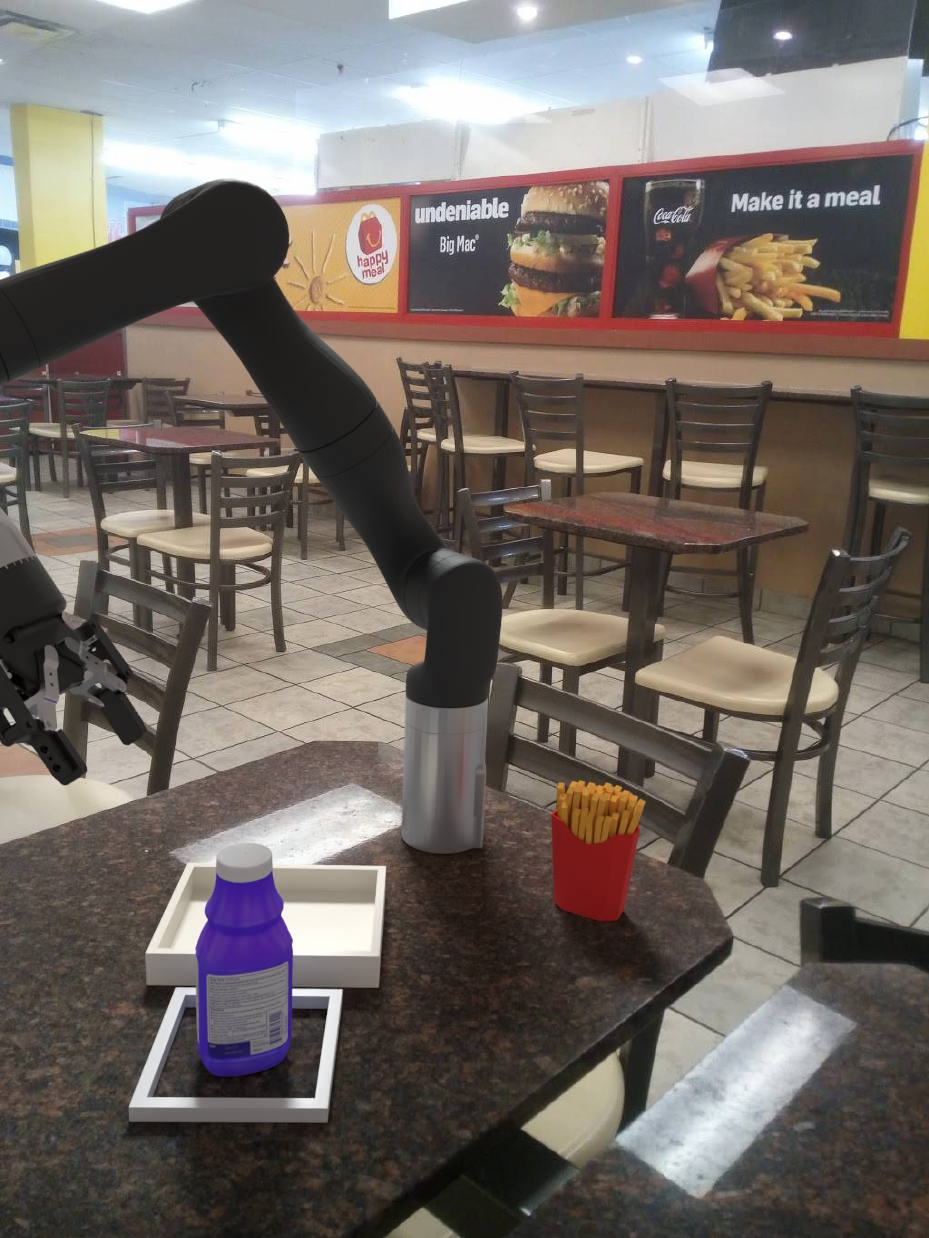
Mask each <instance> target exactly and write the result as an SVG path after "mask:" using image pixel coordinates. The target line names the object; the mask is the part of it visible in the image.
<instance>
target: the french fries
mask: <svg viewBox="0 0 929 1238" xmlns="http://www.w3.org/2000/svg"><path fill="white" fill-rule="evenodd" d="M557 783H558V784H557V785H556V802H557V803H556V805H557V807H556V809H555V810H554V811H553V812H552V813H551V814H550V816H551V817H550V819H551V841H552V842H551V844H552V845H551V846H552V850H551V851H552V875H553V876H552V877H553V903H555V904H556V906H557V907H559V908H560V909H561V910H563V911H566V912H568V913H572V914H575V915H578V916H582V917H585V918H588V919H593V920H596V921H600V922H609V921H610V922H611V921H618V919H619V918H620V917H621V915H622V914H623V912H624V910H625V906H626V900H627V895H628V891H629V886H630V882H631V881H630V880H631V876H632V872H633V871H632V870H633V866H634V861H635V857H636V851H637V846H638V843H639V842H638V841H639V837H640V832H641V826H639V822H640V819H641V817H642V814H643V810H644V808H645V805H646V804H647V803H646V800H644V799H642V798H639V797H638V795H634V794H633V793H632V792H631V791H630V790H625V789H624V790H623V791H622V789H623V787H622V786H620V785H618V784H616V785H615V786H613V783H609V782H605V784H604V785H599V784H598V785H596V783H594V782H591V781H589V782H588V783H587V785H586V781H583V780H578V781H573V780H572V781H571V783H570V784H569V786H568V788H567V791H566V789H565V788H566V787H565V786H566V784H565V782H557ZM638 798H639V800H638Z"/></svg>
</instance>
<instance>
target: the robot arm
mask: <svg viewBox="0 0 929 1238" xmlns="http://www.w3.org/2000/svg"><path fill="white" fill-rule="evenodd" d="M289 247H290V231H289V223H288V220H287V218H286V215H285V212H284V211H283V209H282V207H281V206H280V204H279V203H278V202H277V200H276V199H275V198H274V196H273V195H271V194H270V193H269V192H268V191H267V190H266V189H264V188H263V187H261V186H259V185H258V184H256V183H254V182H251V181H248V180H245V179H240V178H239V179H238V178H234V177H233V178H218V179H213V180H209V181H207V182H205V183H202V184H200V185H197V186H195V187H193V188H190V189H188V190H186V191H184V192H182V193H179V194H178V195H176V196H174V197H173V198H172V199H171V200H170V201H169V202H168V203H167V204H166V206H165V207H164V209H163V210H162V212H161V215H160V218H159V219H158V220H156V221H154V222H152V223H151V224H148V225H146V226H144V227H142V228H141V229H139V230H136V231H134V232H131V233H130V234H127V235H125V236H123V237H120V238H118V239H115V240H114V241H111V242H109V243H106V244H103V245H100V246H98V247H94V248H92V249H89V250H88V249H87V250H85V251H83V252H79V253H77V254H74V255H71V256H70V255H69V256H68V257H64V258H61V259H56V260H54V261H52V262H47V263H45V264H41V265H39V266H36V267H32V268H29V269H26V270H24V271H21V272H17V273H15V274H12V275H9V276H6V277H3V278H1V279H0V386H1V385H4V384H7V383H9V382H11V381H13V380H16V379H17V378H20V377H22V376H25V375H27V374H29V373H31V372H33V371H36V370H38V369H41V368H43V367H44V366H47V365H49V364H52V363H53V362H55V361H58V360H59V359H62V358H64V357H66V356H68V355H70V354H73V353H74V352H77V351H78V350H81V349H83V348H85V347H87V346H88V345H90V344H92V343H95V342H97V341H99V340H101V339H103V338H105V337H107V336H109V335H112V334H114V333H115V332H117V331H120V330H121V329H122V330H123V328H126V327H129V326H131V325H132V324H133V325H134V324H135V323H137V322H139V321H142V320H144V319H146V318H149V317H151V316H154V315H156V314H159V313H162V312H164V311H167V310H170V309H173V308H175V307H178V306H181V305H185V304H188V303H191V302H194V304H195V305H196V306H197V307H198V309H199V310H200V311H201V313H202V314H203V315H204V316H205V317H206V318H207V320H208V321H209V322H210V323H211V325H213V327H214V328H215V329H216V330H217V332H218V333H219V334H220V336H221V337H222V338H223V339H224V340H225V342H226V343H227V344H228V345H229V347H230V348H231V349H232V351H233V352H234V353H235V355H236V356H237V357H238V359H239V360H240V362H241V363H242V365H243V366H244V368H245V370H246V371H247V373H248V374H249V377H250V378H251V379H252V381H253V383H254V384H255V386H256V387H257V389H258V391H259V392H260V394H261V395H262V398H264V400H265V402H266V403H267V404H268V406H269V407H270V409H271V411H272V412H273V414H274V415H275V416H276V419H278V421H279V422H280V424H281V425H282V427H283V428H284V430H285V432H286V434H287V435H288V437H289V438H290V440H291V441H292V443H293V445H294V447H295V448H296V450H297V451H298V452H299V454H300V456H301V457H302V458H303V460H304V461H305V463H306V465H307V466H308V467H309V468H310V471H311V472H312V474H313V475H314V477H315V478H316V479H317V480H318V481H319V483H320V484H321V485H322V487H323V488H324V489H325V491H326V493H327V494H328V495H329V496H330V498H331V499H332V501H333V502H334V503H335V505H336V507H337V509H339V510H340V512H341V514H342V515H343V516H344V518H345V519H346V520H347V522H348V523H349V525H350V526H351V527H352V528H353V529H354V530H355V532H356V533H357V534H358V535H359V538H360V539H361V540H362V541H363V543H364V545H365V546H366V548H367V550H368V551H369V553H370V555H371V556H372V558H373V560H374V562H375V564H376V565H377V567H378V569H379V571H380V573H381V575H382V577H383V579H384V581H385V583H386V585H387V587H388V589H389V591H390V593H391V595H392V597H393V599H394V601H395V602H396V604H397V606H398V608H399V609H400V611H401V612H402V614H403V615H404V616H405V617H406V618H407V619H408V620H409V621H410V622H412V623H413V624H414V625H415V626H417V627H418V628H420V629H423V630H425V631H426V641H425V652H424V658H423V659H424V660H423V661H421V662H420V661H419V662H418V663H415V664H414V665H412V666H410V668H409V669H408V670H407V672H406V677H405V678H406V679H405V703H404V704H405V706H404V711H405V712H404V737H403V738H404V739H403V740H404V741H403V768H402V769H403V770H402V771H403V774H402V775H403V777H402V809H401V810H402V811H401V838H402V840H403V841H404V842H405V843H406V844H407V845H408V846H410V847H412V848H414V849H416V850H418V851H421V852H425V853H430V854H431V853H432V854H438V855H439V854H442V855H444V854H445V855H449V854H456V853H461V852H465V851H468V850H472V849H482V848H483V847H484V824H485V805H486V804H485V803H486V783H487V767H486V762H485V761H486V748H487V747H486V745H487V729H488V728H487V727H488V725H487V723H488V721H487V720H488V706H489V705H488V703H489V688H490V684H491V682H492V679H493V677H494V675H495V673H496V669H497V667H498V665H497V664H498V658H499V649H500V639H501V631H502V621H503V600H504V599H503V590H502V585H501V581H500V578H499V577H498V574H497V573H496V571H495V570H494V569H493V568H492V567H491V565H489V564H487V563H486V562H484V561H482V560H480V559H477V558H475V557H472V556H469V555H466V554H463V553H460V552H457V551H454V550H453V549H451V548H450V547H449V546H448V545H447V544H446V543H445V542H444V541H443V540H442V539H441V537H440V536H439V535H438V533H437V532H436V531H435V528H434V527H432V525H431V523H430V522H429V520H428V519H427V517H426V516H425V515H424V513H423V511H422V510H421V508H420V506H419V504H418V503H417V500H416V498H415V495H414V492H413V488H412V484H411V483H412V482H411V477H410V471H409V466H408V461H407V458H406V453H405V450H404V446H403V444H402V441H401V438H400V437H399V435H398V433H397V431H396V429H395V427H394V425H393V424H392V422H391V421H390V419H389V417H388V415H387V414H386V413H385V411H384V409H383V407H382V406H381V405H380V402H379V401H378V400H377V397H376V396H375V394H374V392H373V391H372V390H371V388H370V387H369V385H367V383H366V382H365V380H364V379H363V378H362V377H361V376H360V375H359V374H358V373H357V371H355V370H354V368H352V367H351V366H350V365H349V364H348V363H347V361H345V360H344V359H343V358H342V357H341V356H340V355H339V354H338V353H337V352H336V351H335V350H334V349H333V348H332V347H331V346H329V345H328V344H327V343H326V342H325V341H324V339H322V338H321V337H320V336H319V335H318V334H317V333H316V332H314V330H312V329H311V328H310V327H309V326H308V325H307V323H305V322H304V320H303V319H302V318H301V317H300V315H299V314H298V313H297V312H296V310H295V309H294V308H293V306H292V304H290V302H289V300H288V299H287V297H286V296H285V293H284V292H283V290H282V289H281V287H280V285H279V284H278V282H277V280H276V278H275V276H276V275H277V273H278V272H279V271H280V270H281V268H282V267H283V265H284V262H285V260H286V258H287V255H288V251H289ZM66 609H67V600H66V598H65V597H64V595H63V594H62V592H61V590H60V589H59V587H58V586H57V585H56V583H55V581H54V580H53V578H52V577H51V575H50V574H49V572H48V571H47V569H46V568H45V567H44V565H43V564H42V561H41V560H40V559H39V557H38V556H37V555H36V553H35V552H34V550H33V548H32V546H31V545H30V544H29V542H28V540H27V539H26V538H25V536H24V535H23V533H22V532H21V530H20V529H19V527H18V526H17V525H16V524H15V523H14V522H13V520H11V518H10V517H9V516H8V514H6V512H5V511H4V510H3V509H2V507H1V506H0V743H1V745H2V746H4V747H7V748H9V747H12V746H13V745H15V744H24V745H26V746H28V747H30V746H31V748H33V750H34V751H35V753H36V754H37V755H38V757H39V759H40V760H41V762H42V763H43V765H45V767H46V769H47V770H48V772H49V773H50V775H51V776H52V777H53V778H54V779H55V780H56V781H58V783H59V784H60V785H61V786H69V785H70V784H72V783H73V782H75V781H77V780H78V779H79V778H81V777H83V776H84V775H86V774H87V772H88V767H87V764H86V763H85V762H84V760H83V759H82V757H81V755H80V754H79V752H78V751H77V750H76V748H75V747H74V745H73V744H72V742H71V740H70V739H69V738H68V736H67V735H66V733H65V731H63V729H62V728H60V729H58V719H57V711H56V710H57V709H56V706H57V704H58V703H59V700H60V697H61V695H63V694H65V693H67V692H69V693H71V694H72V695H74V696H75V695H76V696H80V695H82V696H85V697H86V698H88V699H89V700H91V701H93V702H94V703H96V704H98V705H99V706H102V707H101V708H99V710H100V711H101V713H102V715H103V716H104V718H105V719H106V720H107V722H108V724H109V725H110V727H111V728H112V730H113V731H114V733H115V734H116V736H117V738H118V739H119V740H120V742H121V744H123V745H125V746H130V745H131V744H133V743H135V742H137V741H138V740H140V739H142V738H143V737H145V736H146V735H147V733H148V728H147V726H146V724H145V723H144V720H143V719H142V717H141V716H140V714H139V712H138V710H137V709H136V708H135V706H134V705H133V704H132V702H131V701H130V700H131V699H129V697H128V696H127V694H126V691H127V685H128V683H129V682H130V681H131V680H132V679H134V677H135V673H134V671H133V670H132V668H131V666H130V665H129V664H128V663H127V661H126V660H125V658H124V657H123V655H122V654H121V653H120V651H119V650H118V649H117V647H116V645H115V644H114V643H113V641H112V640H111V638H110V637H109V636H108V634H107V633H106V631H105V630H104V629H103V627H102V626H101V625H100V623H99V622H98V621H97V620H96V619H95V618H93V617H90V618H88V619H87V620H85V621H83V622H82V623H80V624H79V625H77V626H76V627H74V628H72V627H71V626H70V625H69V624H68V623H67V622H66V621H65V620H64V618H63V613H64V611H65V610H66ZM105 661H108V662H109V663H110V664H111V666H112V667H113V668H114V670H115V672H114V673H112V672H110V671H109V670H108V668H107V667H108V666H107V663H105ZM85 669H86V671H85ZM96 684H97V685H96ZM98 684H100V686H101V687H99V686H98ZM6 709H7V711H8V713H9V714H10V715H11V718H13V721H14V723H13V724H11V723H10V721H9V719H8V717H6V715H5V710H6ZM57 729H58V730H57Z"/></svg>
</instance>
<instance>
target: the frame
mask: <svg viewBox="0 0 929 1238" xmlns="http://www.w3.org/2000/svg"><path fill="white" fill-rule="evenodd" d="M343 992H344V990H343V988H339V989H338V988H292V1009H303V1010H304V1009H309V1010H310V1009H313V1010H314V1009H321V1010H322V1009H323V1010H324V1009H325V1010H326V1009H327V1015H326V1021H325V1028H324V1034H323V1040H322V1047H321V1052H320V1053H321V1055H320V1060H319V1061H320V1062H319V1068H318V1075H317V1081H316V1082H317V1083H316V1089H315V1095H314V1098H313V1097H311V1098H310V1097H307V1098H306V1097H301V1098H300V1097H298V1098H297V1097H179V1096H178V1097H175V1096H172V1097H167V1096H166V1097H164V1096H163V1097H160V1096H159V1097H158V1096H157V1097H155V1096H154V1095H155V1093H156V1089H157V1087H158V1083H159V1080H160V1078H161V1075H162V1072H163V1070H164V1067H165V1064H166V1062H167V1059H168V1057H169V1054H170V1051H171V1048H172V1046H173V1043H174V1041H175V1037H176V1034H177V1033H178V1029H179V1027H180V1024H181V1021H182V1019H183V1015H184V1012H185V1010H186V1008H196V987H188V986H187V987H183V986H182V987H181V986H179V987H175V988H174V991H173V994H172V997H171V999H170V1001H169V1004H168V1006H167V1009H166V1011H165V1014H164V1017H163V1019H162V1022H161V1023H160V1027H159V1029H158V1032H157V1034H156V1037H155V1039H154V1042H153V1043H152V1047H151V1049H150V1052H149V1055H148V1058H147V1059H146V1063H145V1065H144V1067H143V1069H142V1072H141V1076H140V1077H139V1080H138V1082H137V1085H136V1087H135V1090H134V1092H133V1095H132V1097H131V1101H130V1102H129V1106H128V1122H131V1123H132V1122H135V1123H137V1122H138V1123H140V1122H142V1123H143V1122H144V1123H148V1122H149V1123H151V1122H152V1123H153V1122H154V1123H155V1122H156V1123H158V1122H159V1123H165V1122H166V1123H172V1122H173V1123H176V1122H177V1123H184V1122H185V1123H324V1124H325V1123H328V1121H329V1112H330V1106H331V1105H330V1104H331V1096H332V1090H333V1089H332V1088H333V1080H334V1074H335V1073H334V1072H335V1065H336V1056H337V1049H338V1040H339V1032H340V1026H341V1025H340V1024H341V1017H342V1016H341V1015H342V1008H343V1002H344V1001H343V999H344V997H343V995H344V993H343Z"/></svg>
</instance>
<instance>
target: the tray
mask: <svg viewBox="0 0 929 1238" xmlns="http://www.w3.org/2000/svg"><path fill="white" fill-rule="evenodd" d="M272 864H273V869H272V871H273V878H274V883H275V887H276V889H277V892H278V893H279V895H280V896H281V898H282V899H283V901H284V908H283V911H282V913H281V915H282V918H283V919H284V921H285V923H286V926H287V928H288V931H289V932H290V934H291V936H292V939H293V943H292V948H293V973H292V988H295V987H296V988H301V987H302V988H304V987H305V988H360V989H361V988H364V989H365V988H371V989H373V988H375V989H376V988H380V979H381V978H380V976H381V975H380V974H381V962H382V949H383V948H382V946H383V932H384V919H385V918H384V917H385V907H386V906H385V902H386V889H387V888H386V885H387V884H386V882H387V880H386V879H387V866H386V865H353V864H352V865H346V864H345V865H343V864H342V865H341V864H339V865H337V864H334V865H333V864H294V863H293V864H292V863H291V864H290V863H289V864H287V863H286V864H283V863H282V864H280V863H272ZM215 882H216V862H187V864H186V866H185V867H184V870H183V872H182V874H181V877H180V878H179V881H178V883H177V885H176V887H175V889H174V891H173V893H172V896H170V897H171V898H170V900H169V902H168V904H167V906H166V908H165V909H164V910H165V911H164V913H163V915H162V917H161V919H160V921H159V923H158V926H157V928H156V930H155V932H154V934H153V935H152V937H151V940H150V942H149V944H148V946H147V949H146V951H145V953H144V955H145V957H144V958H145V973H146V974H145V975H146V981H145V982H146V986H182V987H183V986H187V987H188V986H192V987H194V986H195V987H196V950H195V948H196V945H197V941H198V939H199V936H200V933H201V931H202V929H203V927H204V926H205V924H206V922H207V920H208V919H207V918H206V915H205V906H206V904H207V902H208V900H209V899H210V897H211V896H212V894H213V891H214V887H215Z"/></svg>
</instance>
